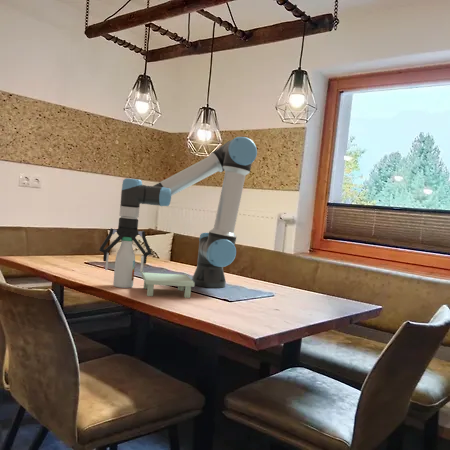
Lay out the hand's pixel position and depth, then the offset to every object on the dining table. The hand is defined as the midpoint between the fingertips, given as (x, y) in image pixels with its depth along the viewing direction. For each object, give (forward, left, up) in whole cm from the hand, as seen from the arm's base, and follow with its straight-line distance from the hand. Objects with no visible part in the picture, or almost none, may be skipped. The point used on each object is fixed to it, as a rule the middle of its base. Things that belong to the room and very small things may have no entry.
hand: (123, 270), depth 188 cm
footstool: (-16, +9, -6) cm, 20 cm away
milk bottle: (0, 0, -6) cm, 6 cm away
